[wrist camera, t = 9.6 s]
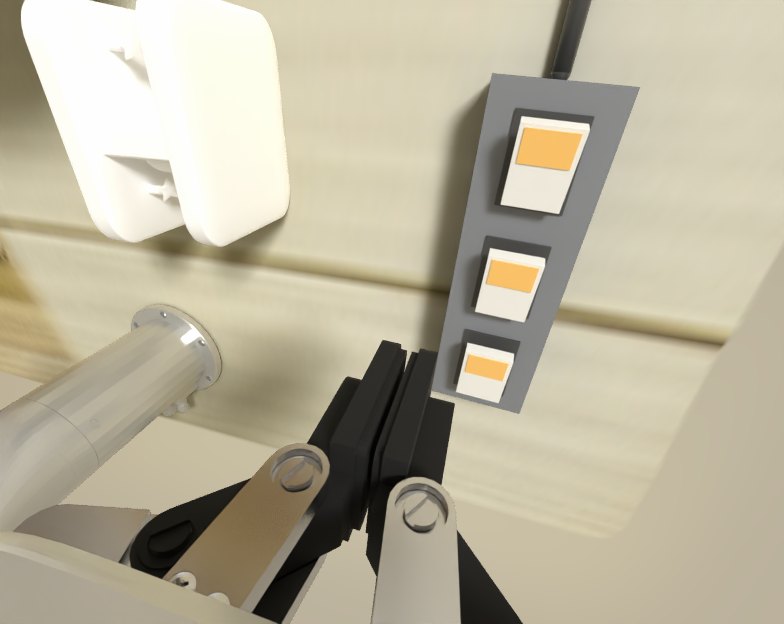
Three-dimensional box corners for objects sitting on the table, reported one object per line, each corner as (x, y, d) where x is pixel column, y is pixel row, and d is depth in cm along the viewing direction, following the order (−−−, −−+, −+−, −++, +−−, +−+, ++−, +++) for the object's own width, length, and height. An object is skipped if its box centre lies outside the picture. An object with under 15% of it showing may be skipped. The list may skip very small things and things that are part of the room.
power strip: (519, 385, 37) (519, 418, 33) (438, 364, 38) (429, 394, 35) (695, -119, 19) (739, -172, 15) (534, -118, 21) (537, -166, 17)
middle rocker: (524, 313, 28) (524, 323, 28) (476, 303, 29) (474, 312, 28) (545, 258, 25) (545, 267, 24) (490, 248, 26) (488, 256, 25)
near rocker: (558, 206, 24) (558, 214, 24) (502, 197, 25) (500, 205, 24) (589, 123, 21) (590, 131, 20) (521, 116, 21) (520, 122, 21)
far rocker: (499, 394, 32) (498, 404, 32) (457, 383, 33) (455, 392, 32) (514, 353, 29) (513, 363, 28) (467, 342, 30) (465, 352, 29)
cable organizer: (298, 220, 35) (214, 267, 25) (202, 208, 38) (92, 246, 28) (280, 18, 28) (150, -25, 18) (161, 19, 30) (-10, -19, 20)
